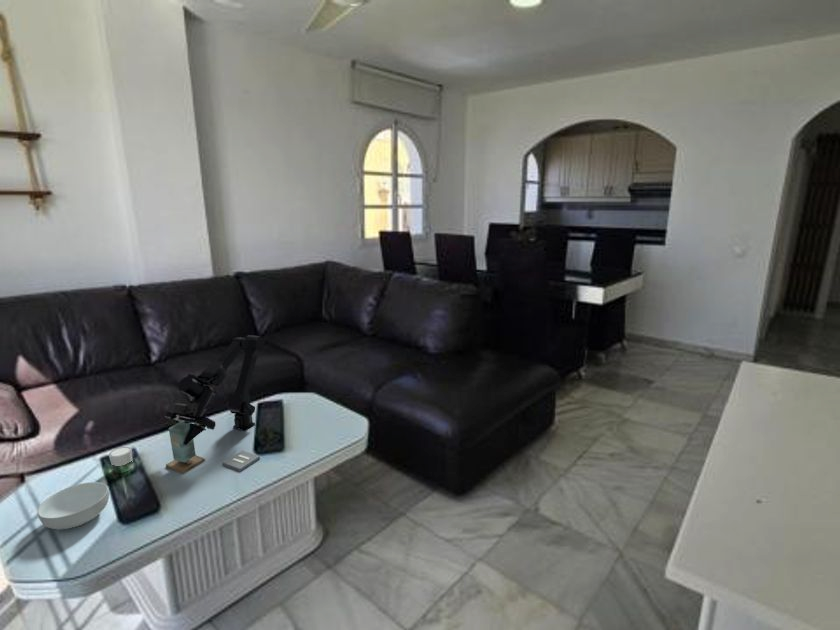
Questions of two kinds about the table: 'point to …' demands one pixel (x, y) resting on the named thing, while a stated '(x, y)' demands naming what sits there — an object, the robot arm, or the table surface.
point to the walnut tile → (185, 464)
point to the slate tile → (241, 460)
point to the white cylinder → (121, 456)
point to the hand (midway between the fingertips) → (179, 442)
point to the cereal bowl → (73, 505)
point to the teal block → (181, 442)
